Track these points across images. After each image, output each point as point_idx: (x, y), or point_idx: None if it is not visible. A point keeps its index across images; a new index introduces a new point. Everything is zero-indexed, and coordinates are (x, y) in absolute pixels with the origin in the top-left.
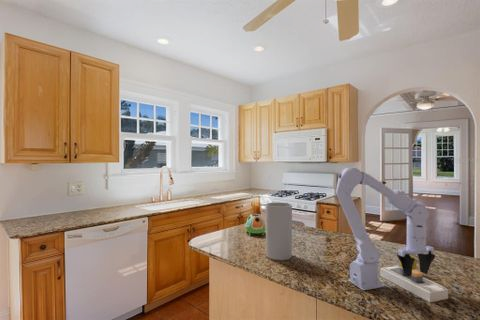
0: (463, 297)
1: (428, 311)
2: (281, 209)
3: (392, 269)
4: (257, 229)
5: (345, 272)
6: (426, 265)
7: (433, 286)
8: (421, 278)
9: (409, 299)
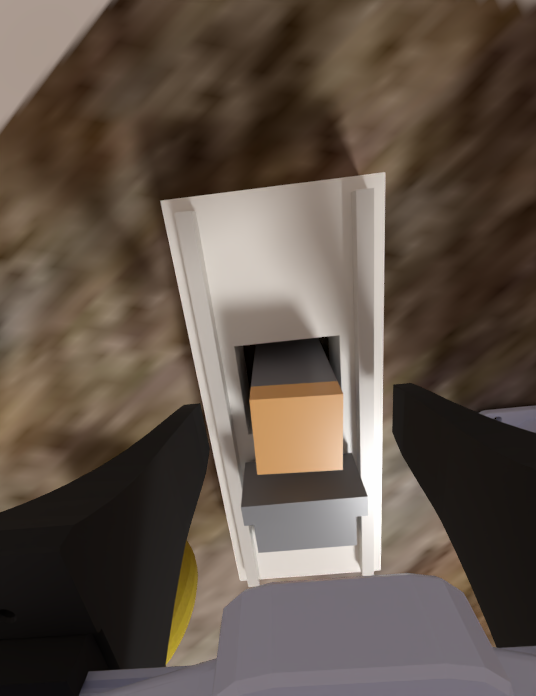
0: (47, 200)
1: (498, 63)
2: None
3: (347, 536)
4: None
5: None
6: (170, 458)
7: (241, 275)
8: (265, 376)
9: (465, 248)
